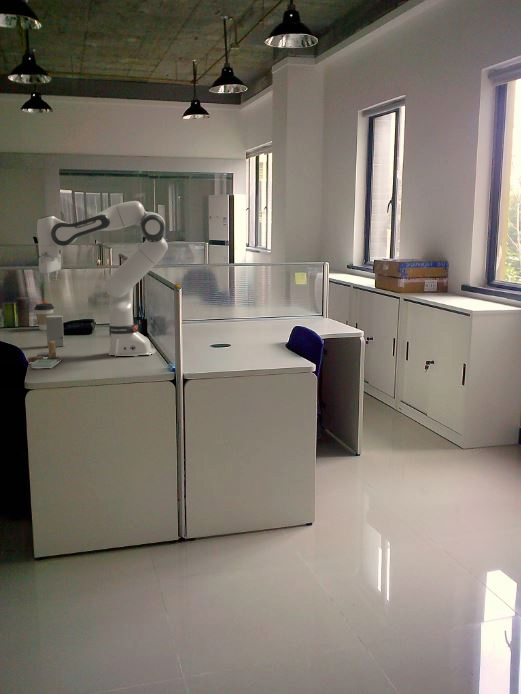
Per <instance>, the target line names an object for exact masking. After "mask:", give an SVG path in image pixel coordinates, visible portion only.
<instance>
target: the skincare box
mask: <svg viewBox="0 0 521 694" xmlns="http://www.w3.org/2000/svg"><path fill="white" fill-rule="evenodd" d="M63 317H64V316H63V315H53V316H46V327H47V330H46V341H47V343H46V344H47V347H48V341H55V348H60V347H59V346H64V347H65V340H64V339H65V337H64V336H65V335H64V320H63Z"/></svg>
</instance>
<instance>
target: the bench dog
mask: <svg viewBox="0 0 521 694" xmlns="http://www.w3.org/2000/svg"><path fill="white" fill-rule="evenodd" d="M36 360H45V359H43V356H37V355H36V356H35V355H34V356H29V357H28V358H27V361H28V362H29V363H30V362H35V361H36ZM29 363H28V364H29Z"/></svg>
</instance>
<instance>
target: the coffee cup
mask: <svg viewBox="0 0 521 694" xmlns="http://www.w3.org/2000/svg"><path fill="white" fill-rule="evenodd" d="M54 309H55V306H54V305H53V303H38V304H37V303H36V305H35V307H34V311H35V316H36V318H37V319H36V320H37V323H38V328H39V331H42V332H43V331H47V327H46V316H54Z"/></svg>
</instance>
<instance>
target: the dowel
mask: <svg viewBox="0 0 521 694" xmlns="http://www.w3.org/2000/svg"><path fill="white" fill-rule="evenodd" d="M47 348H48V352H49V360H54V359H56V357H57V354H56V353H57V350H56V347H55V341H48V346H47Z"/></svg>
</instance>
